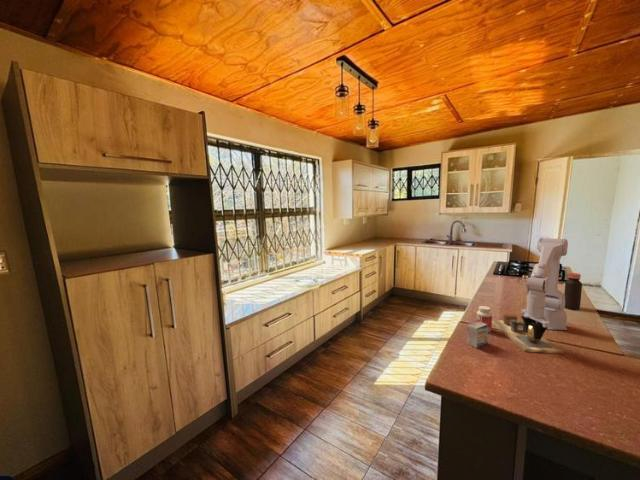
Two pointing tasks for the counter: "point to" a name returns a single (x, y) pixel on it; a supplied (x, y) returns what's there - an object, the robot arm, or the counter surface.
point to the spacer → (531, 334)
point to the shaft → (512, 318)
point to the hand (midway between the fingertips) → (533, 336)
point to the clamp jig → (525, 338)
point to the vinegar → (573, 292)
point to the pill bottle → (485, 316)
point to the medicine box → (477, 334)
